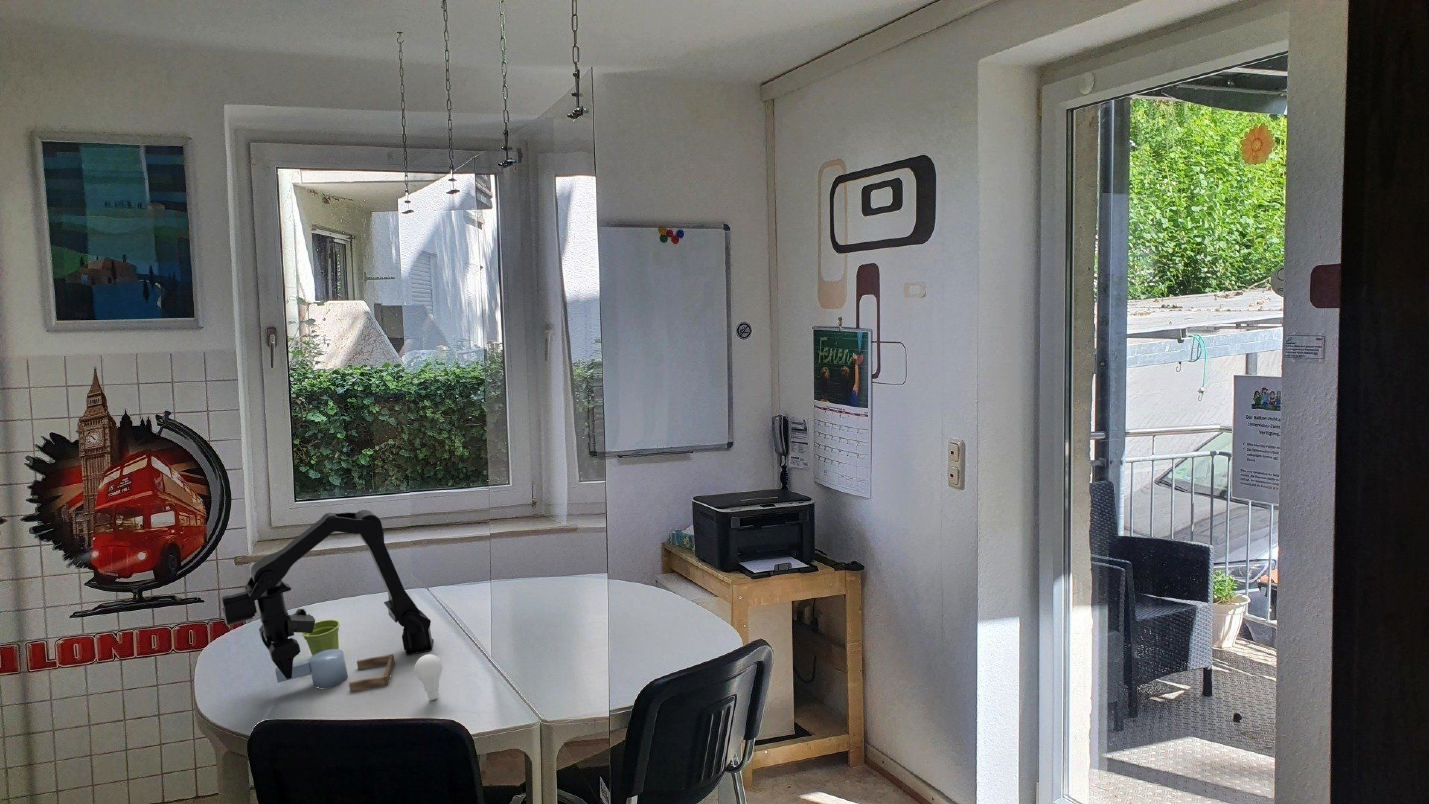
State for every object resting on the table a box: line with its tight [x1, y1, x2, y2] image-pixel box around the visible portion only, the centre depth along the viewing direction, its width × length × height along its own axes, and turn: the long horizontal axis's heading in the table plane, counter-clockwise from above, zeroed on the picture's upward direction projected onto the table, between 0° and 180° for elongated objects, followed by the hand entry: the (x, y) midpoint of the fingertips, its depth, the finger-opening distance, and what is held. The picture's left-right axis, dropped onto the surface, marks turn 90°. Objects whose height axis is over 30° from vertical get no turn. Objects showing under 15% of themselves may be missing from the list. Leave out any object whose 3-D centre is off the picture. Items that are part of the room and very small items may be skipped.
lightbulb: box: [414, 653, 443, 701], centre depth 222 cm, size 6×6×11 cm
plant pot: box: [300, 619, 341, 657], centre depth 250 cm, size 9×9×9 cm
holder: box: [348, 653, 396, 693], centre depth 238 cm, size 9×13×2 cm
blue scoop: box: [275, 649, 349, 690], centre depth 236 cm, size 16×8×6 cm, turn 114°
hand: (285, 671), depth 234 cm, fingers open, 9 cm apart
